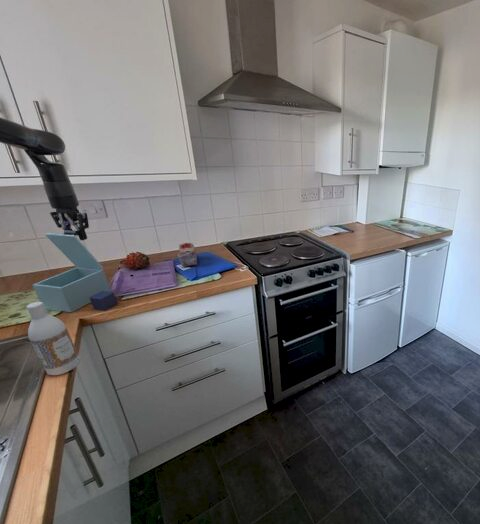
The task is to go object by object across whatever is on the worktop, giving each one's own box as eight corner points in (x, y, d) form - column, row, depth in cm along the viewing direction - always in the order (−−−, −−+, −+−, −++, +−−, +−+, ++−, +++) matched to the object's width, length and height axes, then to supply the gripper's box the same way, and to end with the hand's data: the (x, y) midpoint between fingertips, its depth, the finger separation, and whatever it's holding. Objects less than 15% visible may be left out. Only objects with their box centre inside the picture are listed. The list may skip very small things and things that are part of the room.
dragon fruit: (154, 269, 144) (126, 276, 141) (153, 255, 148) (126, 261, 145) (145, 261, 136) (115, 267, 134) (144, 246, 140) (116, 252, 138)
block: (105, 310, 108) (100, 298, 106) (94, 309, 109) (89, 297, 107) (117, 303, 112) (113, 292, 110) (106, 302, 113) (102, 290, 111)
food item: (199, 265, 145) (195, 246, 141) (181, 269, 141) (176, 249, 137) (196, 256, 156) (192, 238, 152) (179, 259, 152) (174, 241, 148)
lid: (72, 236, 105) (84, 227, 109) (44, 234, 108) (56, 225, 111) (102, 269, 117) (111, 260, 120) (75, 266, 119) (86, 258, 122)
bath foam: (60, 378, 78) (28, 313, 70) (40, 373, 80) (6, 310, 72) (87, 360, 84) (60, 299, 77) (68, 356, 86) (39, 295, 78)
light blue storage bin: (71, 312, 107) (60, 288, 103) (43, 308, 109) (32, 284, 105) (111, 291, 121) (103, 269, 117) (85, 288, 123) (77, 267, 119)
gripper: (33, 194, 104) (51, 241, 111) (66, 196, 102) (83, 243, 108) (56, 191, 111) (72, 235, 118) (88, 192, 108) (102, 237, 115)
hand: (77, 239), depth 113 cm, fingers closed on lid, 5 cm apart
